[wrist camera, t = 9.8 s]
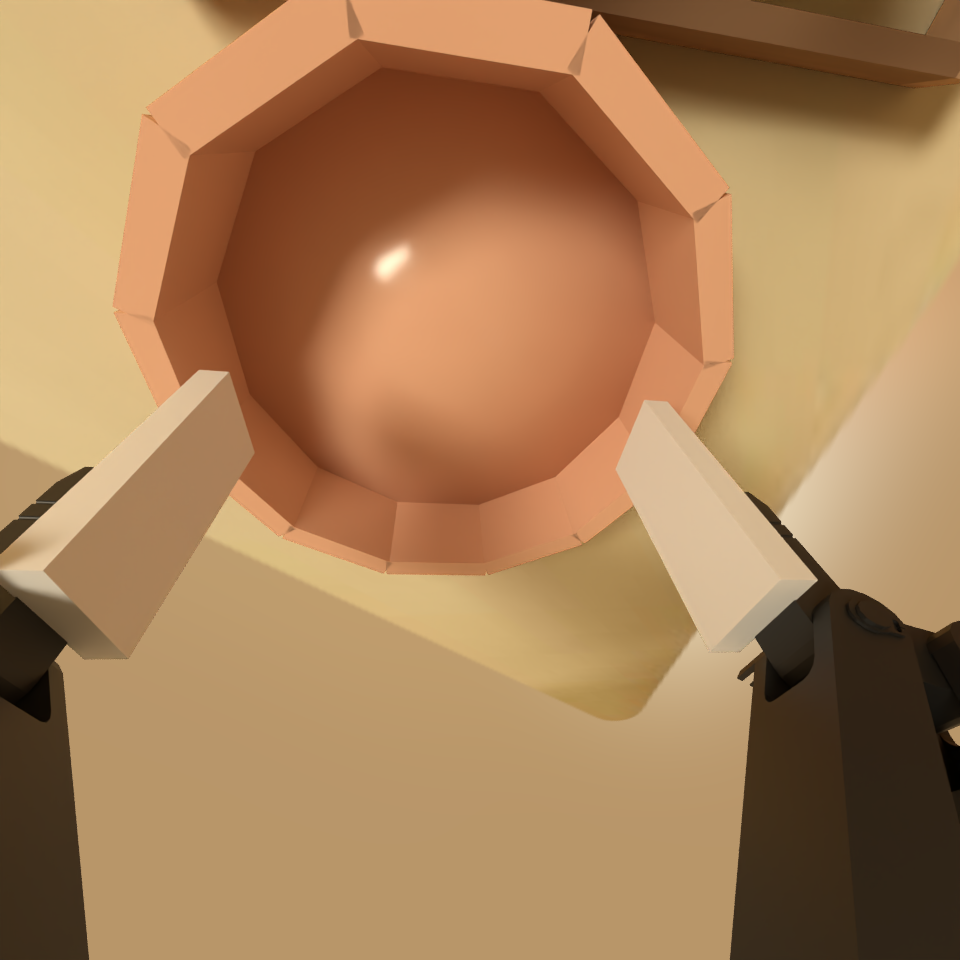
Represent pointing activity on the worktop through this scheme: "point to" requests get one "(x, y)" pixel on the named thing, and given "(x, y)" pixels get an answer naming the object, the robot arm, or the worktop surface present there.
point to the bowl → (429, 272)
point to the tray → (794, 37)
